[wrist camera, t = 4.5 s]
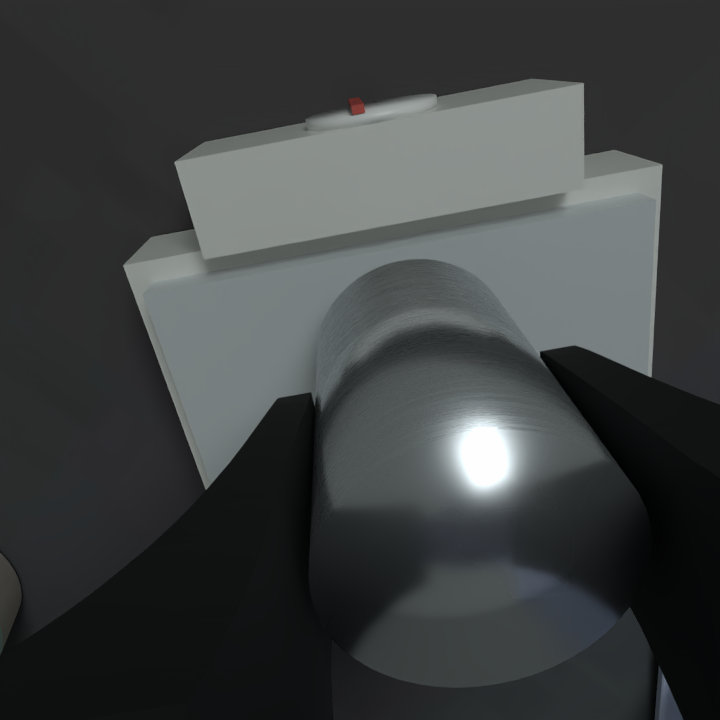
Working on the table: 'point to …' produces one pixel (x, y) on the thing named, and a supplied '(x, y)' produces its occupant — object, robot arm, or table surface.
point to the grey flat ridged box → (392, 240)
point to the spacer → (459, 490)
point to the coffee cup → (8, 599)
